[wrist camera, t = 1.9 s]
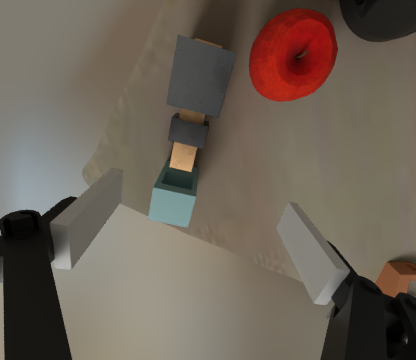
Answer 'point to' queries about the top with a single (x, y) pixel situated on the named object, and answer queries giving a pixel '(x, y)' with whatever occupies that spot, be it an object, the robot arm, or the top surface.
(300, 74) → the apple
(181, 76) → the sleeve
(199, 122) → the collared tan post
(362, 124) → the top surface
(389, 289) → the crank
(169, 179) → the socket block
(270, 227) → the top surface
